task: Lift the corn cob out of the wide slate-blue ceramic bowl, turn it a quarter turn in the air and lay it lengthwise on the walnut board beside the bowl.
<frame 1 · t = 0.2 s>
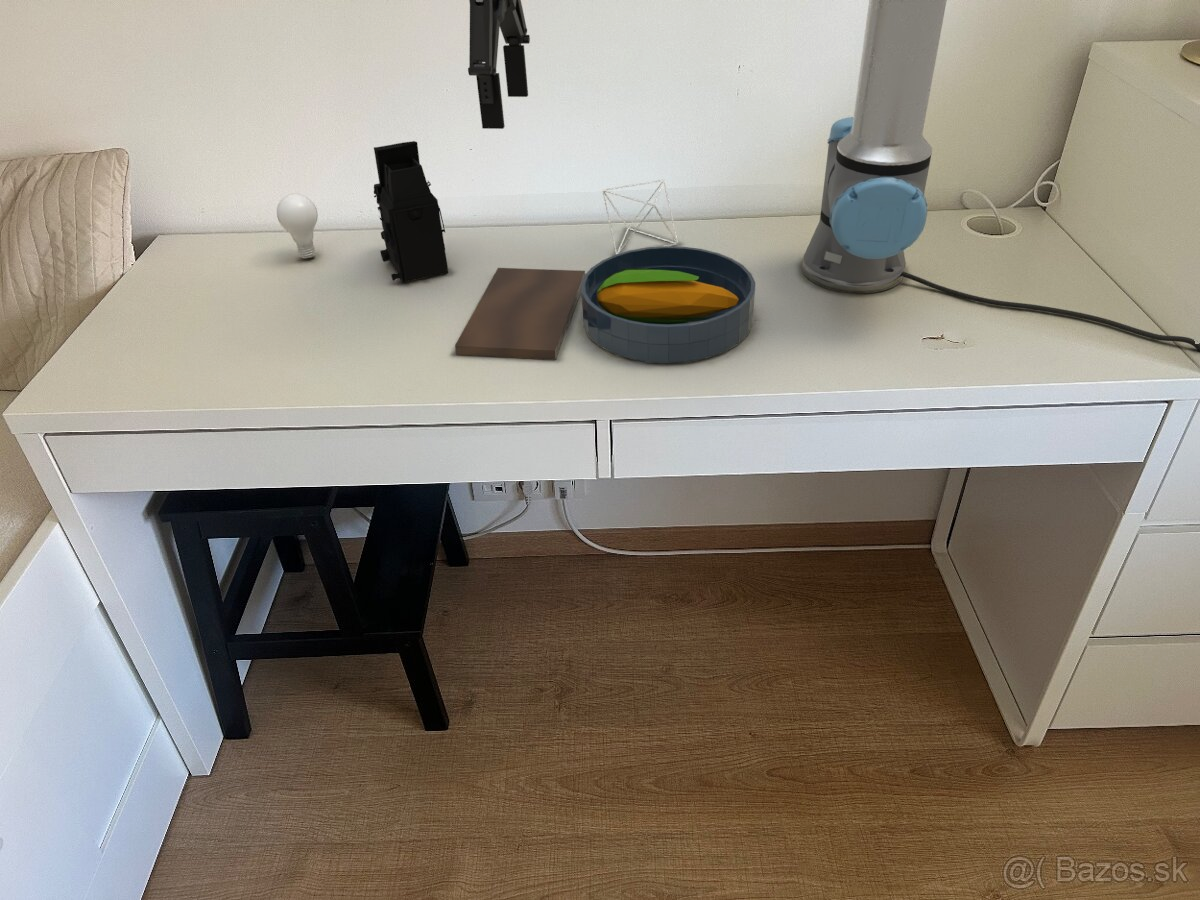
hand: (506, 111, 119), 28 cm above the table, tool pointing down, fingers open, 13 cm apart
walnut board: (525, 314, 132), on the table
camera: (414, 265, 147), on the table
lightbulb: (308, 259, 151), on the table
corn: (667, 319, 129), resting on bowl
geometric polyhedron: (640, 244, 150), on the table
bowl: (667, 321, 129), on the table
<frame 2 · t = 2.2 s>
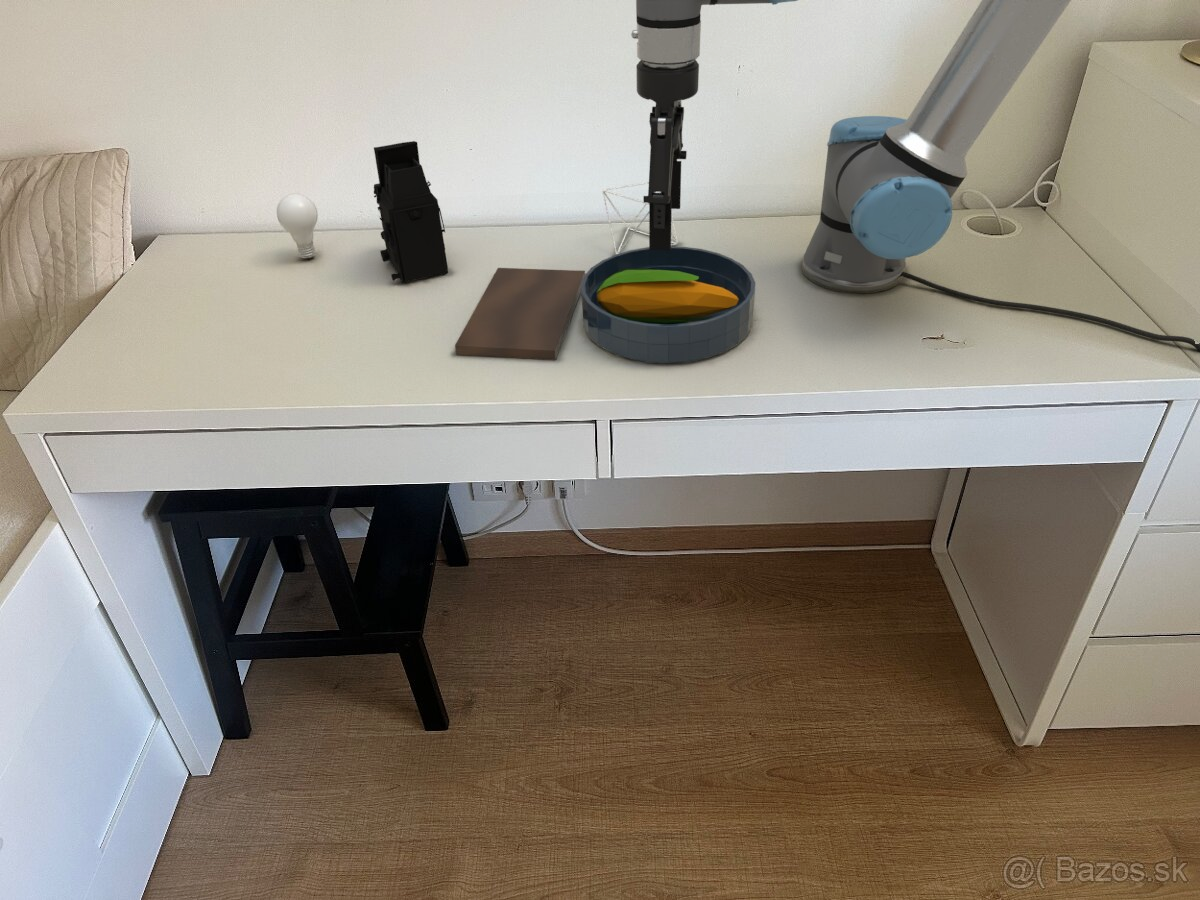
hand: (665, 227, 120), 14 cm above the table, tool pointing down, fingers open, 13 cm apart
nothing on the table moved.
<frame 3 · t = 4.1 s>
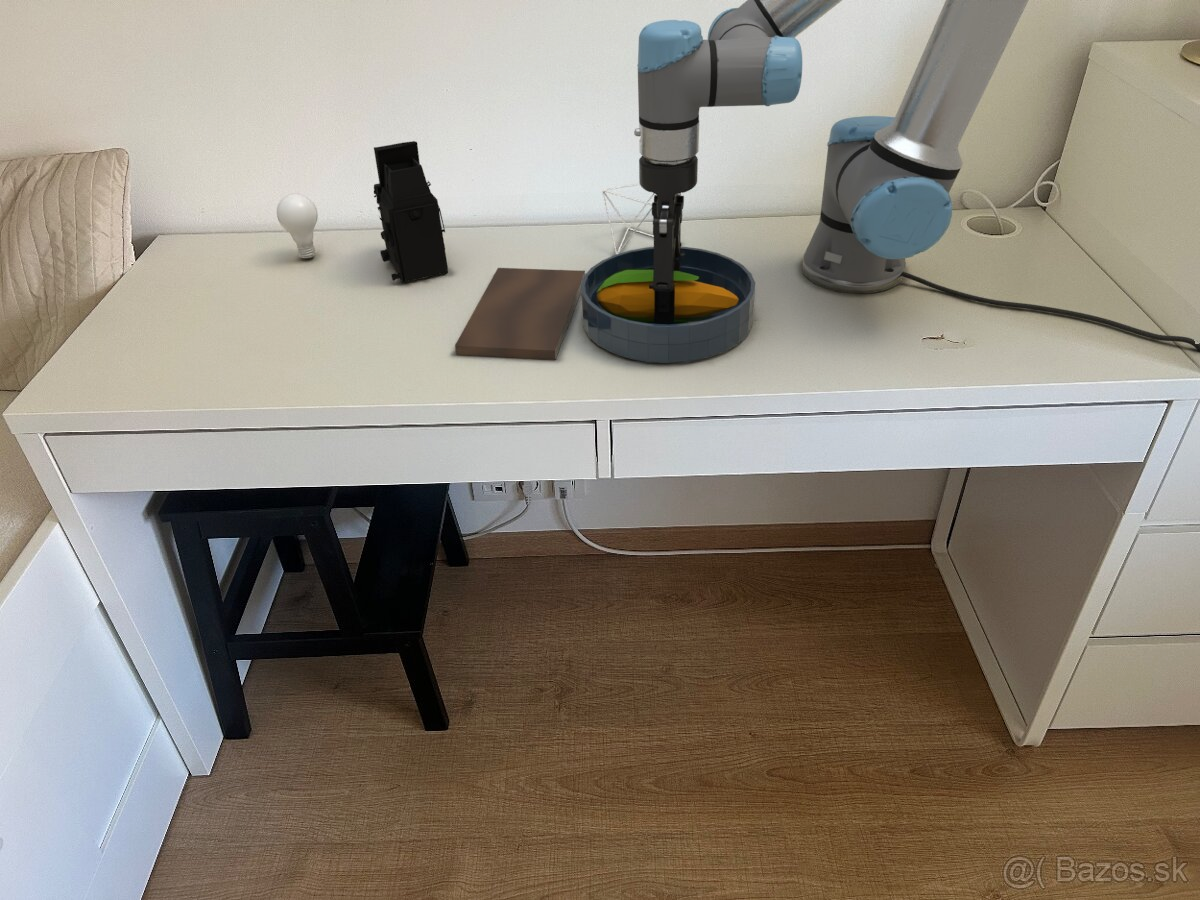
hand: (667, 314, 128), 1 cm above the table, tool pointing down, fingers closed on corn, 7 cm apart
corn: (667, 319, 129), resting on bowl, touching gripper
everything else where it was.
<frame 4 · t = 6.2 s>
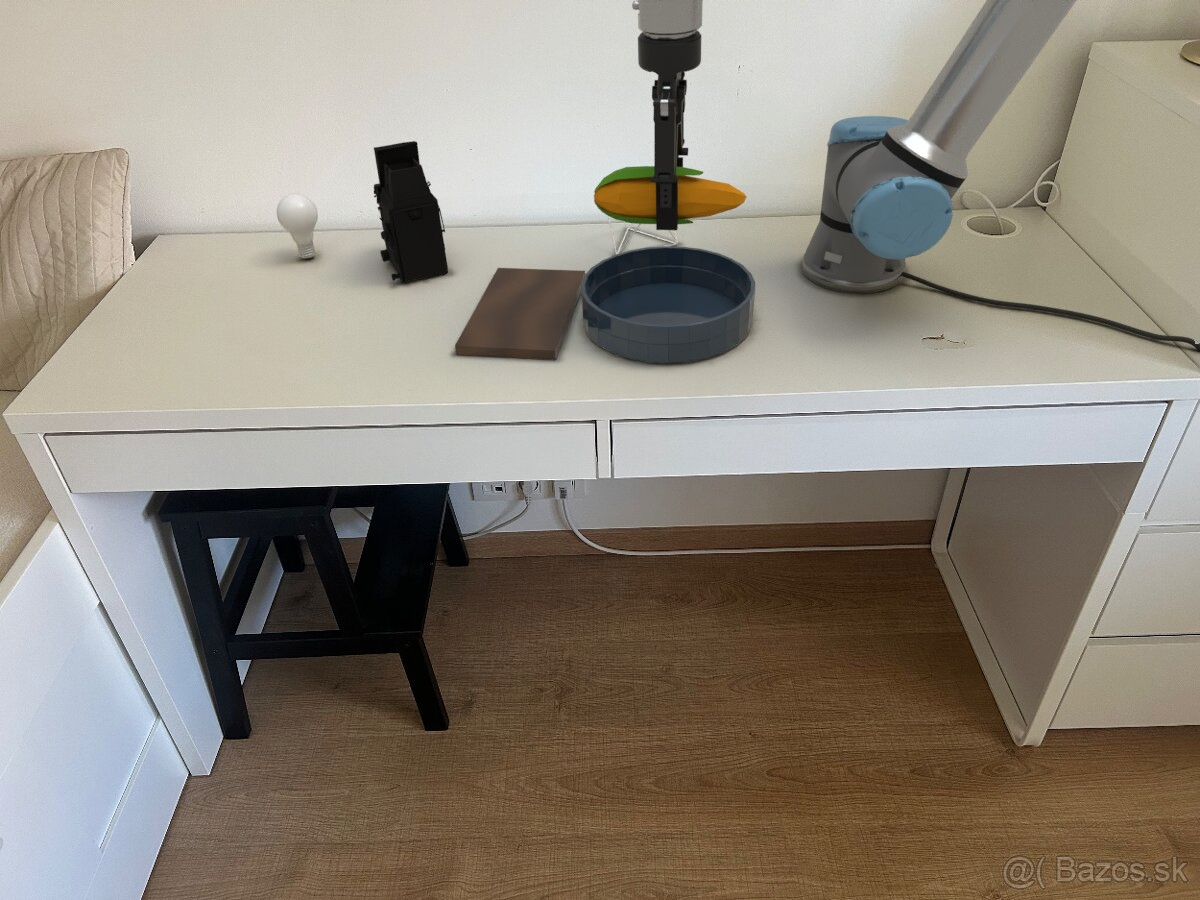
hand: (669, 216, 119), 16 cm above the table, tool pointing down, fingers closed on corn, 7 cm apart
corn: (669, 222, 120), point 15 cm above the table, touching gripper
everything else where it was.
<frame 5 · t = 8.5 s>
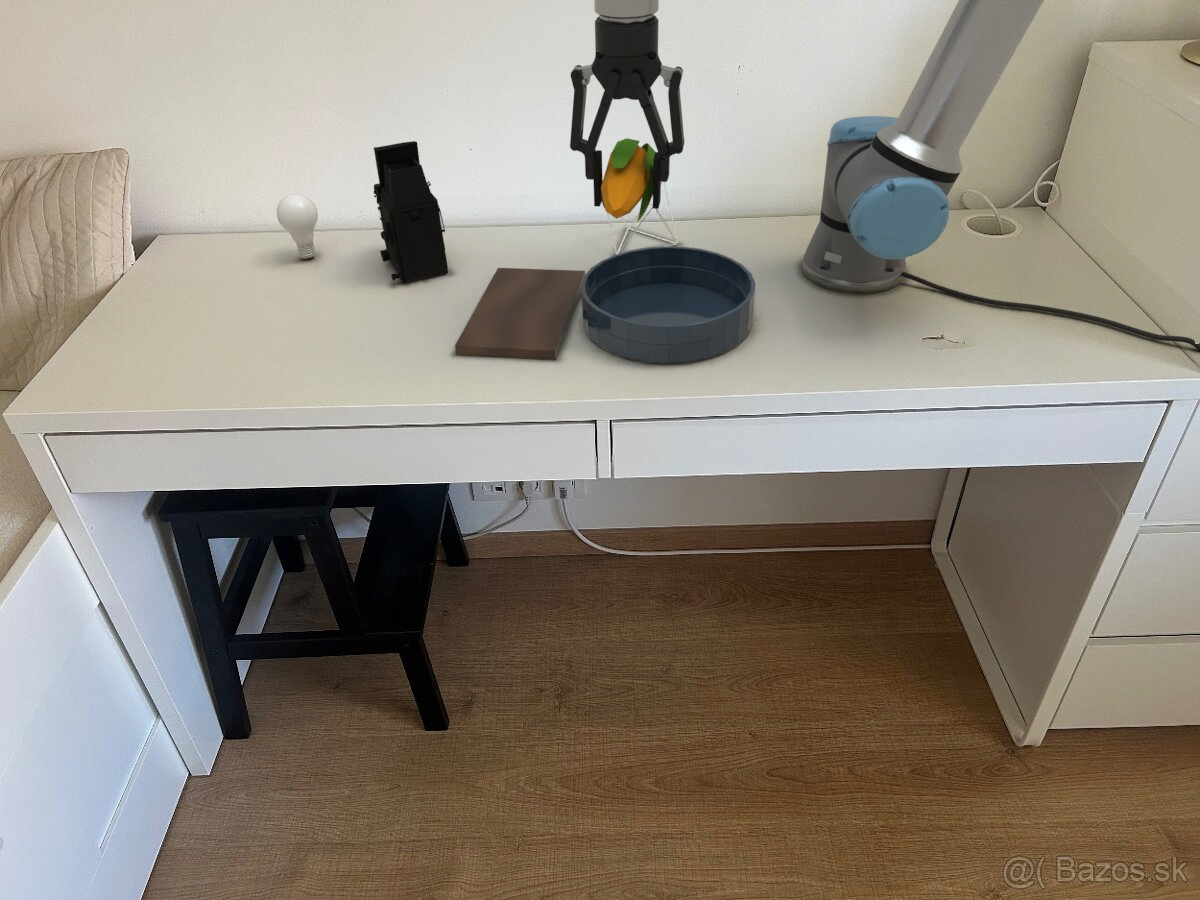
hand: (627, 203, 119), 18 cm above the table, tool pointing down, fingers closed on corn, 7 cm apart
corn: (628, 208, 119), point 17 cm above the table, touching gripper
everything else where it was.
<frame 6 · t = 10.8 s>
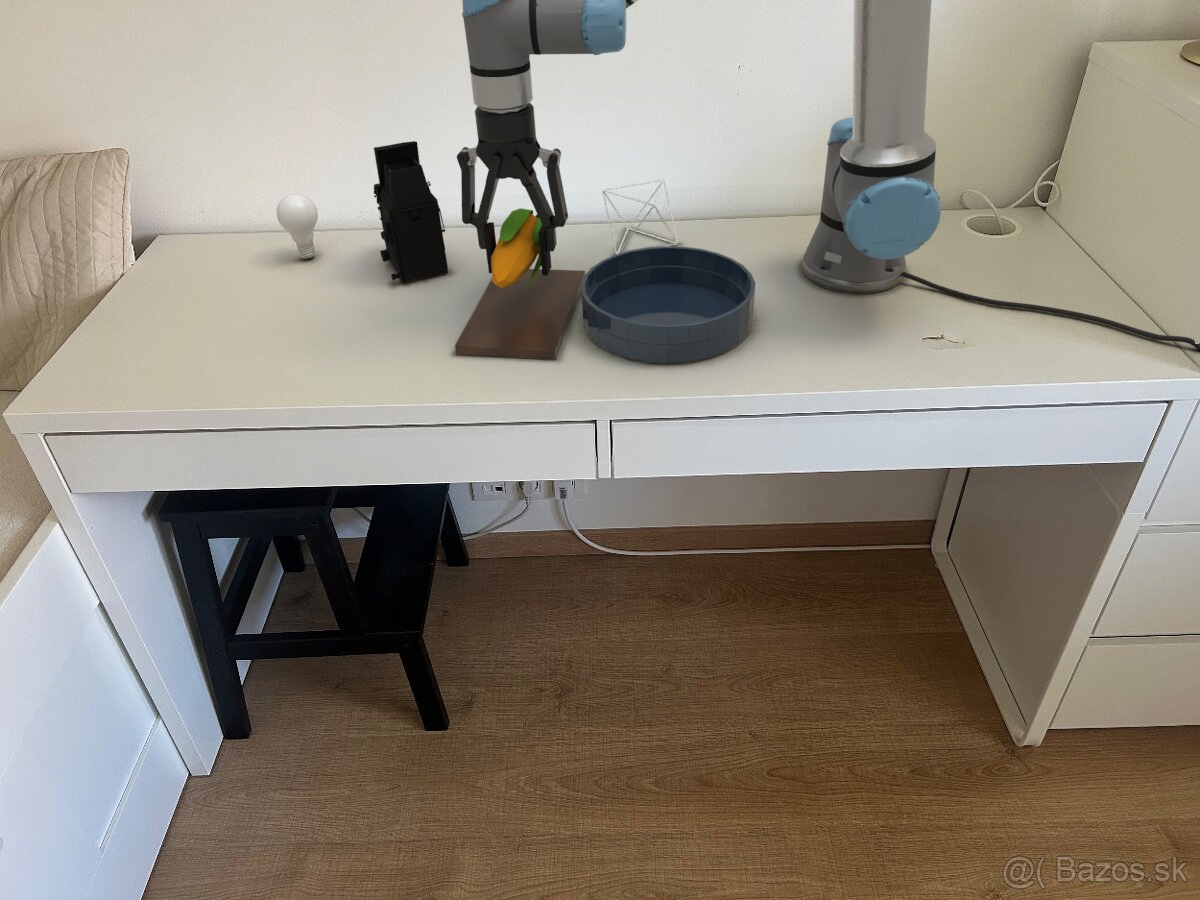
hand: (520, 269, 128), 7 cm above the table, tool pointing down, fingers closed on corn, 7 cm apart
corn: (521, 274, 128), point 6 cm above the table, touching gripper
everything else where it was.
when the fingers open (2 cm above the table, at t = 12.7 s): corn stays where it is, resting on walnut board.
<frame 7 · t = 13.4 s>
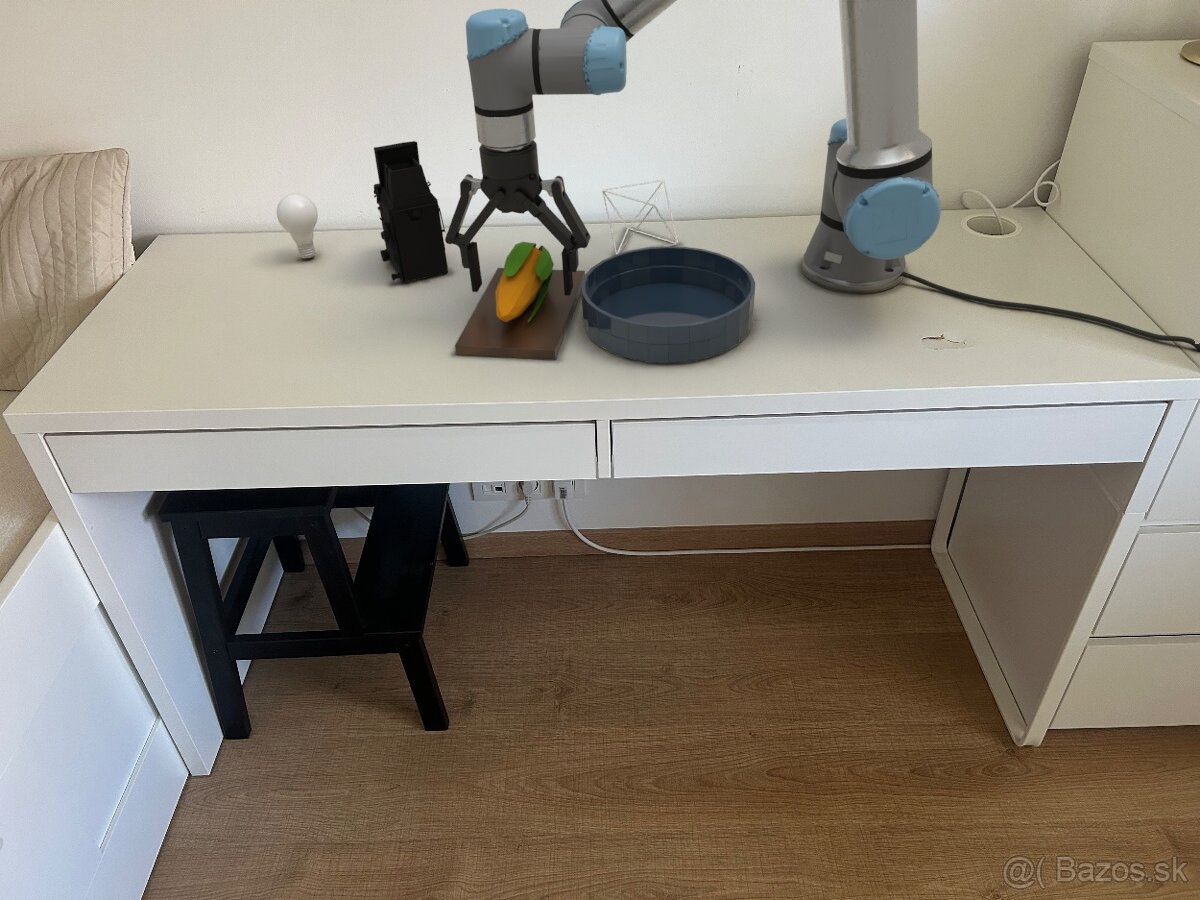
hand: (522, 289, 130), 4 cm above the table, tool pointing down, fingers open, 13 cm apart
corn: (524, 306, 131), point 1 cm above the table, touching walnut board
everything else where it was.
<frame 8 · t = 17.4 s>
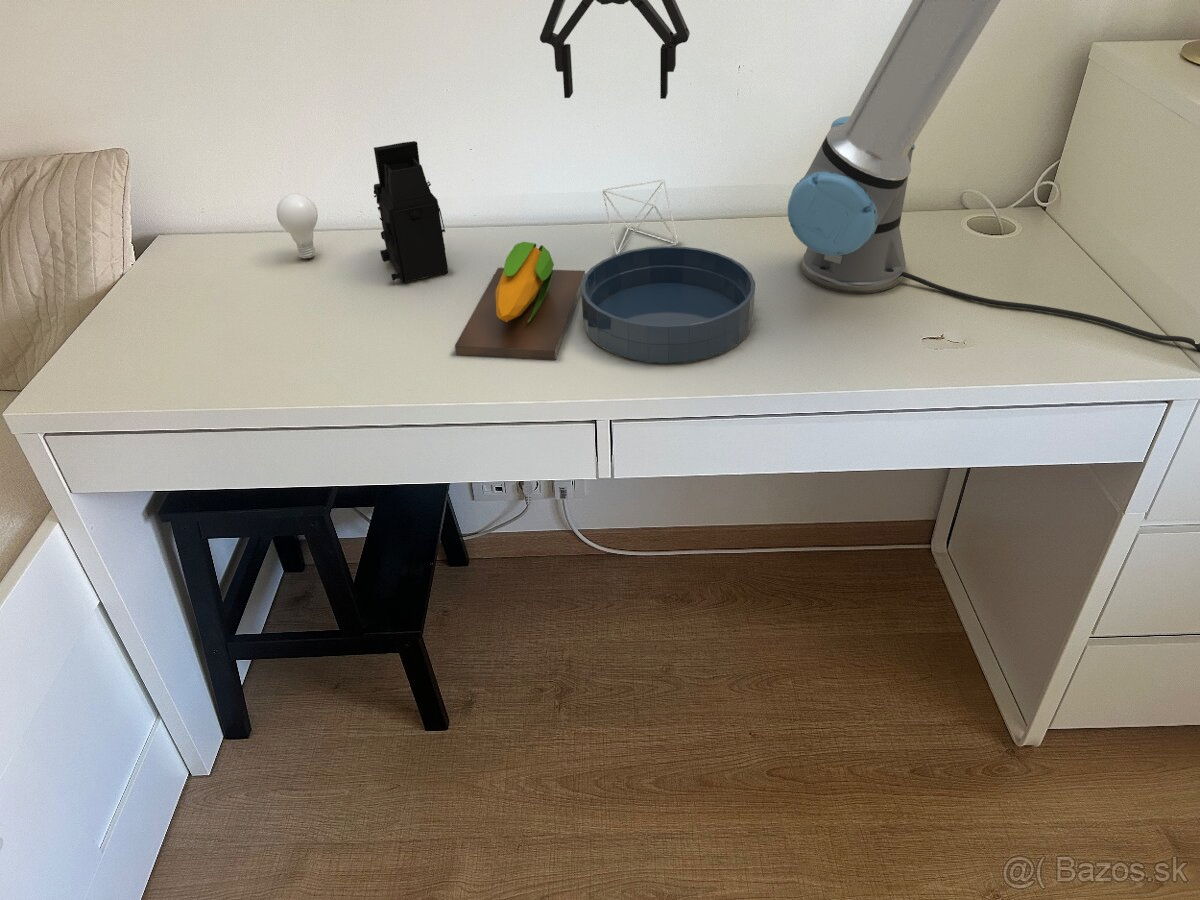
hand: (616, 95, 127), 27 cm above the table, tool pointing down, fingers open, 13 cm apart
nothing on the table moved.
at the end: corn inside the target area on the walnut board (0.1 cm from its centre), point 1.3 cm above the walnut board's base; corn touching walnut board; the gripper is holding nothing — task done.
